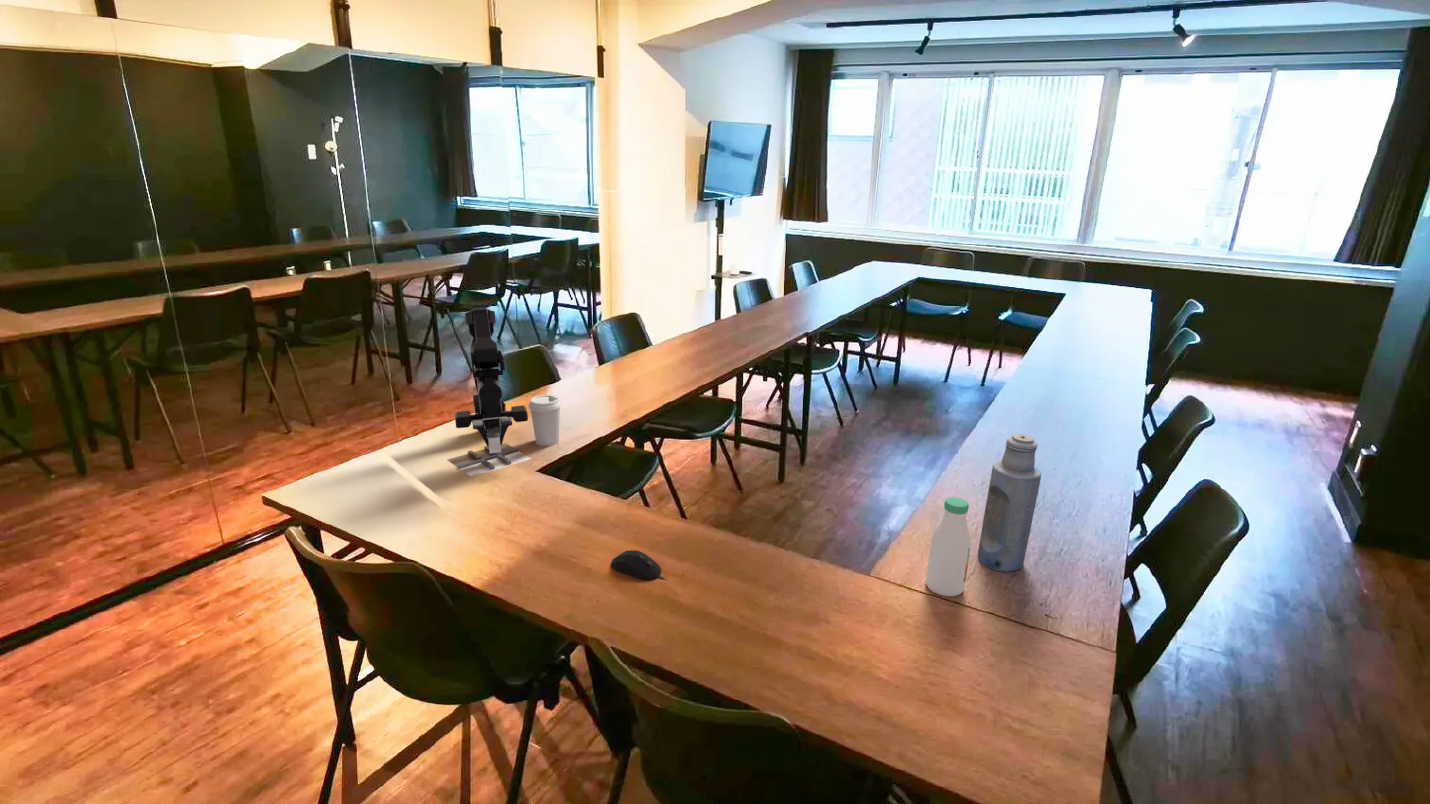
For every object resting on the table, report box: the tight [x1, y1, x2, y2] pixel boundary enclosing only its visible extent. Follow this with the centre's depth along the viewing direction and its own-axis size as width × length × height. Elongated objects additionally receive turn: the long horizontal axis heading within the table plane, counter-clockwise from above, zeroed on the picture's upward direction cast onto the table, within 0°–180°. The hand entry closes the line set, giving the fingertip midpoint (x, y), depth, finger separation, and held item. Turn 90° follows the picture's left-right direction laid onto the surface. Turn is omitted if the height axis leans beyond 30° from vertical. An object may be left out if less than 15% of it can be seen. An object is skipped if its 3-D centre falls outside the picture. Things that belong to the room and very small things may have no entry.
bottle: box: [977, 433, 1042, 573], centre depth 154 cm, size 10×10×30 cm
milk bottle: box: [925, 496, 972, 598], centre depth 146 cm, size 8×8×20 cm
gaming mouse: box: [610, 549, 669, 582], centre depth 153 cm, size 6×15×4 cm, turn 58°
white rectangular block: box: [487, 427, 501, 453], centre depth 197 cm, size 6×3×5 cm, turn 20°
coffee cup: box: [528, 394, 562, 447], centre depth 212 cm, size 10×10×15 cm
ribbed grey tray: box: [447, 442, 532, 478], centre depth 202 cm, size 15×18×2 cm
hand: (494, 445), depth 197 cm, fingers closed on white rectangular block, 3 cm apart
